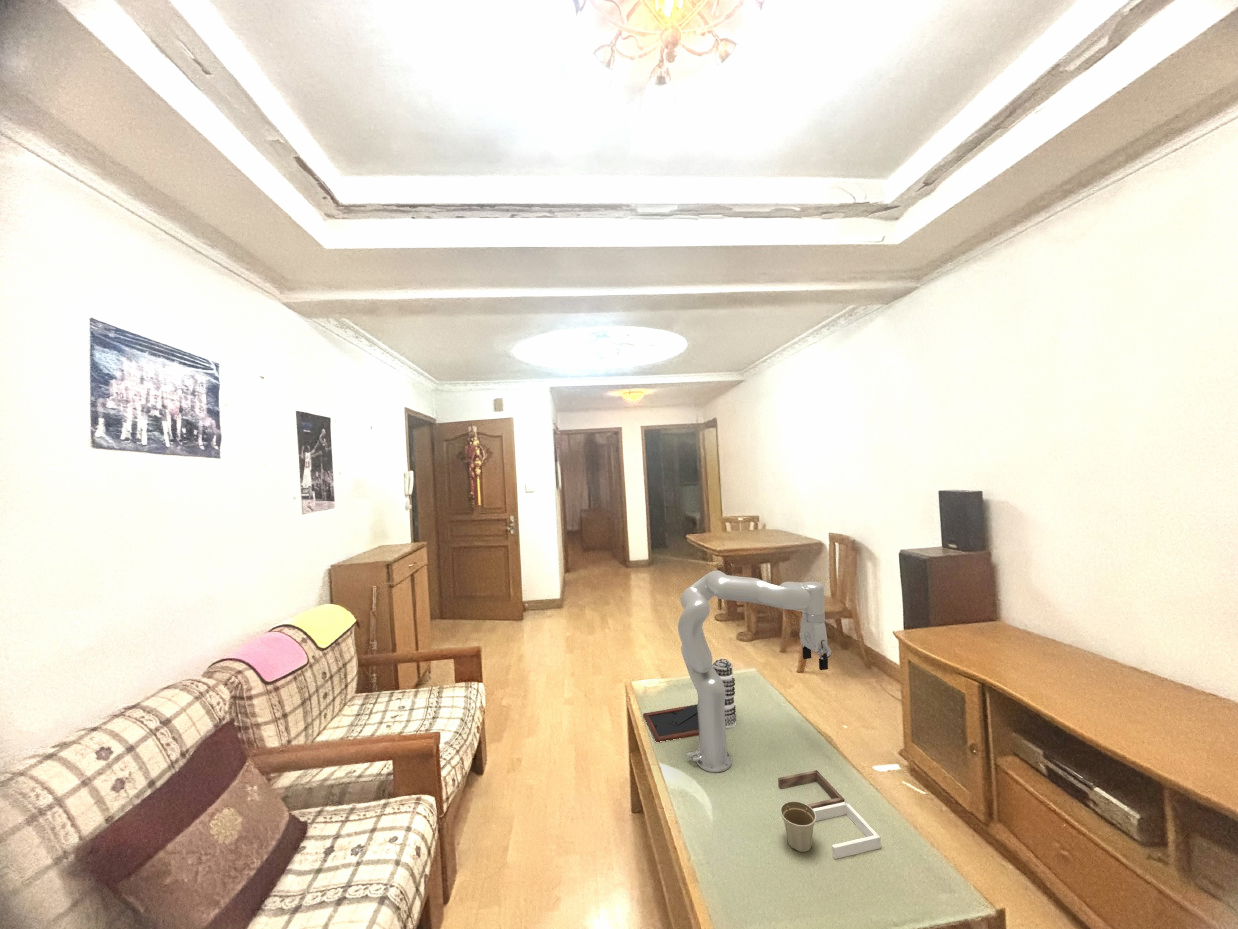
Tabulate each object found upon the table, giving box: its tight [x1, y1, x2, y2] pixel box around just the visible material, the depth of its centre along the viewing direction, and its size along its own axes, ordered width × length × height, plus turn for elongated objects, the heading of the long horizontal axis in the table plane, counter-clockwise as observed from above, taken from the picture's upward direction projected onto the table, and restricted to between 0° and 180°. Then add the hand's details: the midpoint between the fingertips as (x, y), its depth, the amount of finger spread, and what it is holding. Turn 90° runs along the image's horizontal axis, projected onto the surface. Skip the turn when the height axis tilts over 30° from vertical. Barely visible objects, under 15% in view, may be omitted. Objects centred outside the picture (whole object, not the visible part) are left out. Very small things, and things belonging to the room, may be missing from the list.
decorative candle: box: [712, 658, 737, 729], centre depth 195 cm, size 9×9×25 cm
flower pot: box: [779, 800, 817, 853], centre depth 134 cm, size 9×9×9 cm
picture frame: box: [642, 703, 699, 743], centre depth 197 cm, size 20×2×25 cm
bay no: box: [777, 769, 846, 809], centre depth 151 cm, size 14×14×3 cm
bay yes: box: [813, 801, 882, 860], centre depth 136 cm, size 14×14×3 cm
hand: (815, 663), depth 174 cm, fingers open, 9 cm apart
